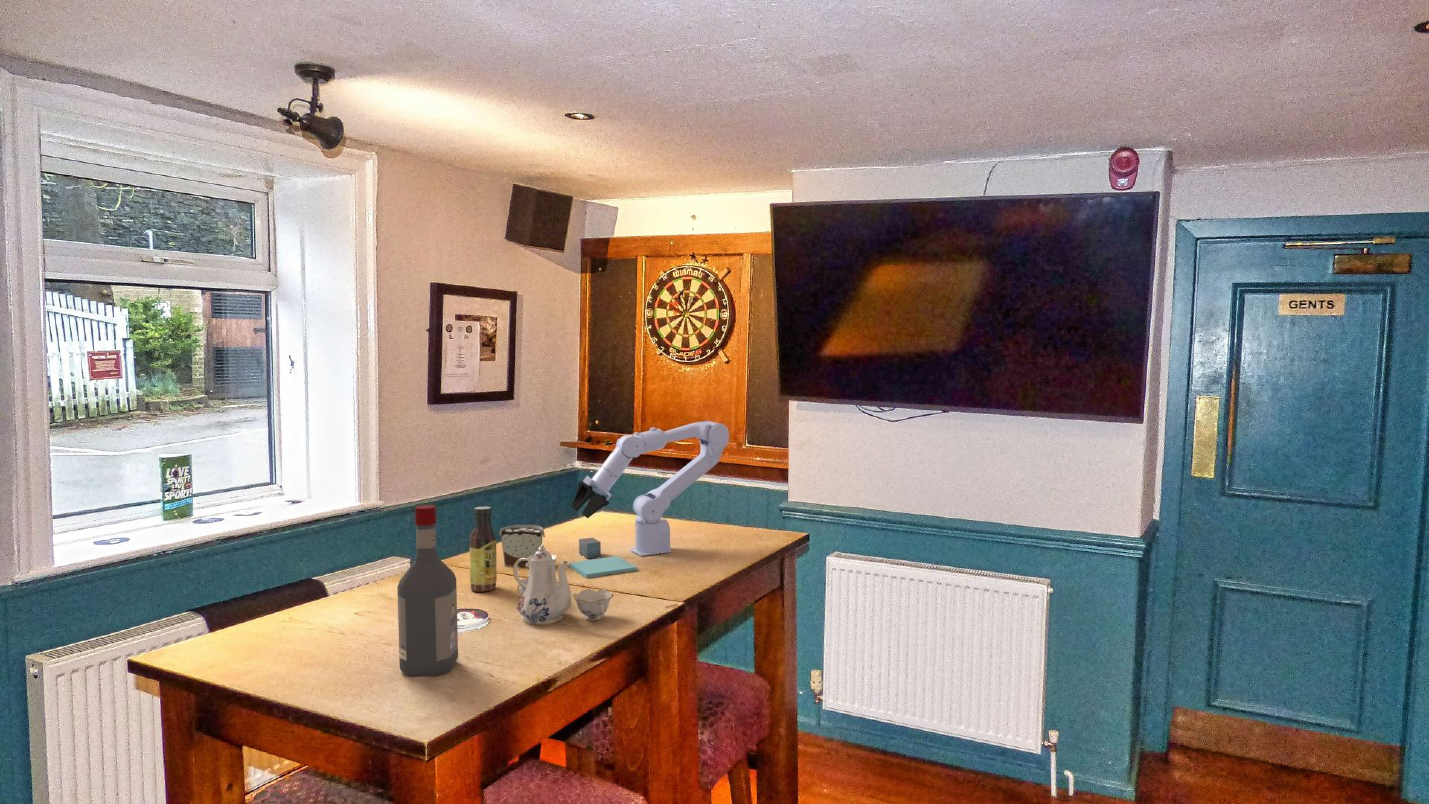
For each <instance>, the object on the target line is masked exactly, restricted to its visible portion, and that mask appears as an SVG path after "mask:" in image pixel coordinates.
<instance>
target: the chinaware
mask: <svg viewBox="0 0 1429 804" xmlns="http://www.w3.org/2000/svg"><path fill="white" fill-rule="evenodd" d="M538 549H539V551H536V552H535V554H534V555H533V556H529V557H527V558H521V559H518V560H517V561H516V562H515V564H514V566H512V567H513V568H512V573H513V577H514V579H515V581H516V582H517V583H518V585H517V592H518V594H519V596H521V597H520V600H519V601H518V603H517V605H516V610H517V612H518V613H519V614H520V615H521V616H522V617H523V619H522V621H523V622H524V623H526V624H529V625H536V626H537V625H538V626H543V625H544V626H545V625H552V624H555V623H558V622H561V621H562V620H563V614H564V613H565V612H567V610H569V608H570V607H571V604H572V598H573V599H574V600H575V602H576V605H577V608H578V610H579V612H580V613H581V614H582V615H584V616H586V618H587V619H586V618H585V620H586V621H591V620H592V621H591V622H593V620H594V621H599V619H600V620H601V619H604V617H605V613H606V611H607V610H608V609H609V607H610V602H611V599H612V598H614V596H615V595H614V594H613V593H611V592H610V590H607V589H604V588H603V589H599V590H593V589H588V588H587V589H583V590H580V591H579V592H578V593H574V594H572V590H571V587H570V584H569V581H568V577H567V573H566V566H567V565H568V563H569V562H568V561H567V560H563V561H562V562H561V563H560V564H559V566H558V572H557V575H558V579H557V576H556V563H557V559H558V556H557V555H555V554H551V553H550V551H548V550H546V547H545V546H544V544H542V545H541V546H540V548H538ZM520 561H528V563H526V568H528V569H529V571H528V578H525V577H524V578H522V579H521V580H520V577H519V575H518V567H517V565H518V563H519V562H520Z"/></svg>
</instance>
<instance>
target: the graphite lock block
mask: <svg viewBox="0 0 1429 804" xmlns="http://www.w3.org/2000/svg"><path fill="white" fill-rule="evenodd" d="M601 549H602V548H601V541H600V540H597V538H594V537H587V538H579V539H578V555H579V554H580V555H581V556H580V555H579V556H580V557H582V556H584V557H585V558H586V559H585V558H584V557H583V558H584V559H585V560H592V559H593V558H594V559H598V558H597V557H601V556H602V555H601V553H602V552H601ZM601 558H602V557H601Z"/></svg>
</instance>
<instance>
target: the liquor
mask: <svg viewBox="0 0 1429 804" xmlns="http://www.w3.org/2000/svg"><path fill="white" fill-rule="evenodd" d="M436 508H437V507H436V505H434V504H422V505H421V504H420V505H417V506H415V507H414V523H415V524H414V525H416V534H415V535H416V554H415V558H414V562H413V563H411V565H410V567H408V569H407V570H406V572H405V573H404V574H403V576H401V578H400V579H399V581H398V584H397V617H398V620H397V621H398V624H397V625H398V654H399V655H398V656H399V657H398V659H399V670H400V671H401V673H402V674H404V675H405V676H408V677H410V678H411V677H412V678H413V677H437V676H442V675H444V674H448V673H449V672H450V671H451V670H452V669H453V667H454V665H455V664H456V663H457V661H458V659H459V644H458V643H459V642H458V641H459V640H458V639H459V637H458V601H457V600H458V595H457V592H458V591H457V577H456V575H455V572H454V571H453V570H452V569H451V568H449V566H448V565H447V564H446V563H445V562H444V561H442V560H441V559H440V558H439V553H438V551H437V535H436V533H437V532H436V531H437V530H436V524H437V511H436V510H437V509H436Z"/></svg>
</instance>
